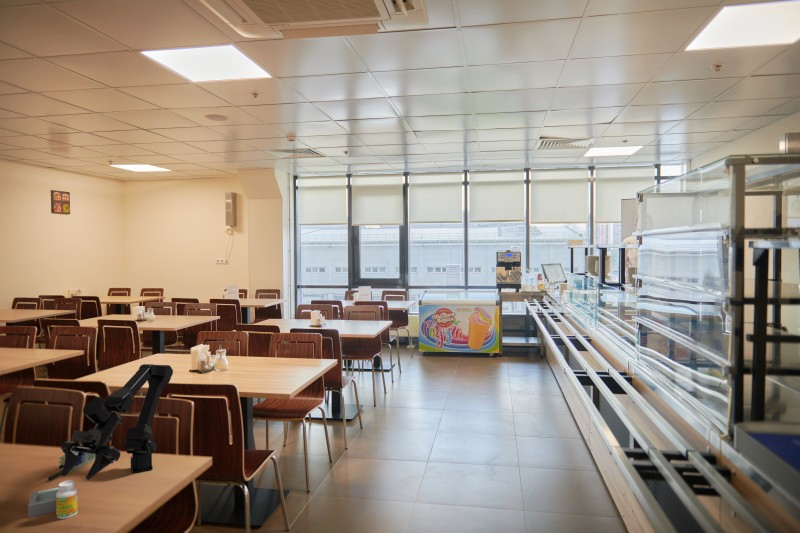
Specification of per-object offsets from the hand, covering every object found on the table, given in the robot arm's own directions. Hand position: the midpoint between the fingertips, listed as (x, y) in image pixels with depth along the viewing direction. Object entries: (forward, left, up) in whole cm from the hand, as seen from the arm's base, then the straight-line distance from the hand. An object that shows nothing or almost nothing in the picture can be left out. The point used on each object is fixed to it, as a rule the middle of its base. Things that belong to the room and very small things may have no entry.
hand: (75, 477), depth 158 cm
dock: (+7, -7, -10) cm, 14 cm away
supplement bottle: (+2, +2, -10) cm, 11 cm away
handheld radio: (+1, -37, -11) cm, 39 cm away
